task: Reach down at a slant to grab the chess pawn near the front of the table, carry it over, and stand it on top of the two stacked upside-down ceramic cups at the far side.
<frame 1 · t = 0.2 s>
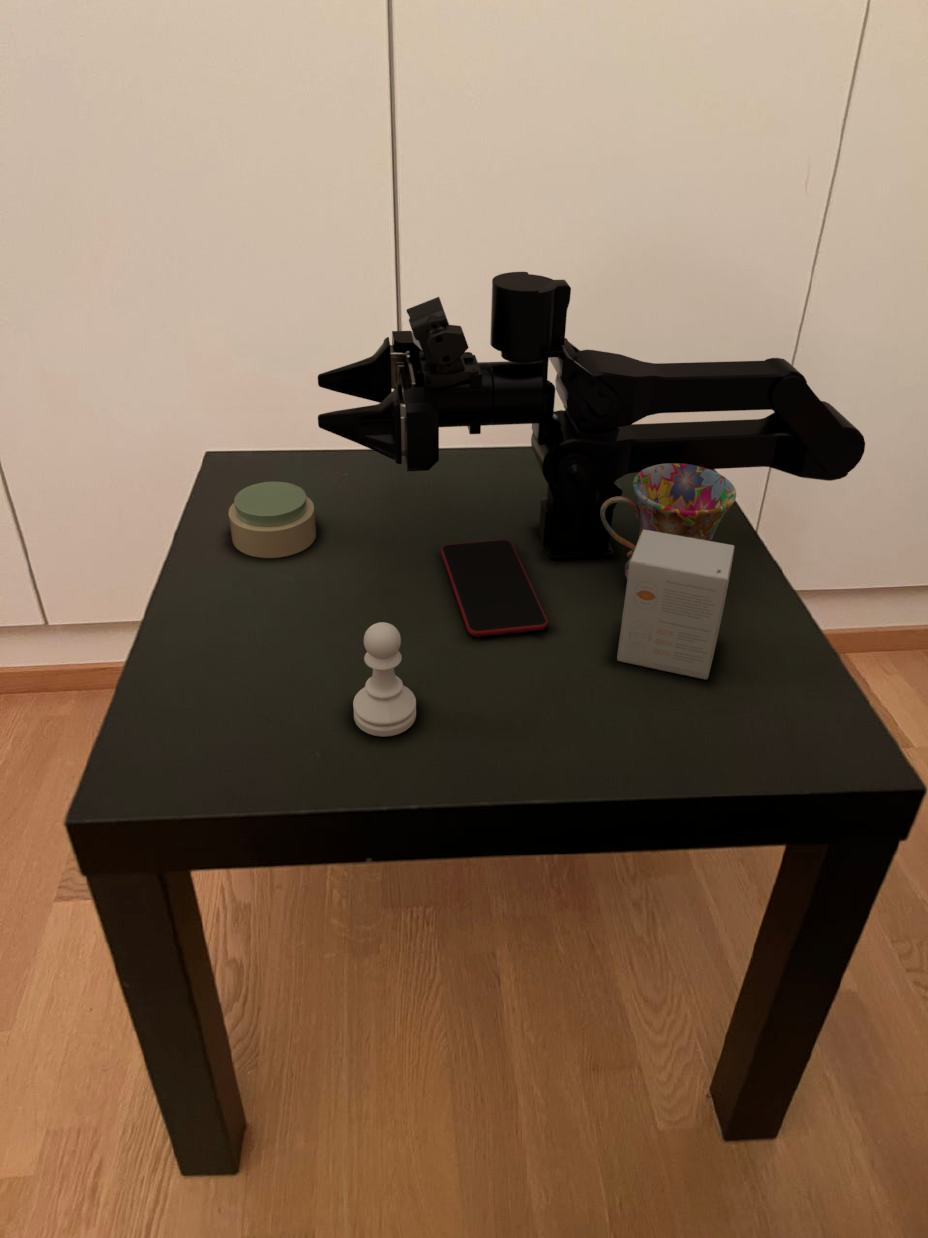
hand: (318, 399, 86), 17 cm above the table, tool horizontal, fingers open, 9 cm apart
mug: (652, 583, 93), on the table, touching arm
chess pawn: (385, 718, 76), on the table
small box: (665, 655, 84), on the table
cup stack: (274, 536, 98), on the table
smartphone: (491, 591, 91), on the table
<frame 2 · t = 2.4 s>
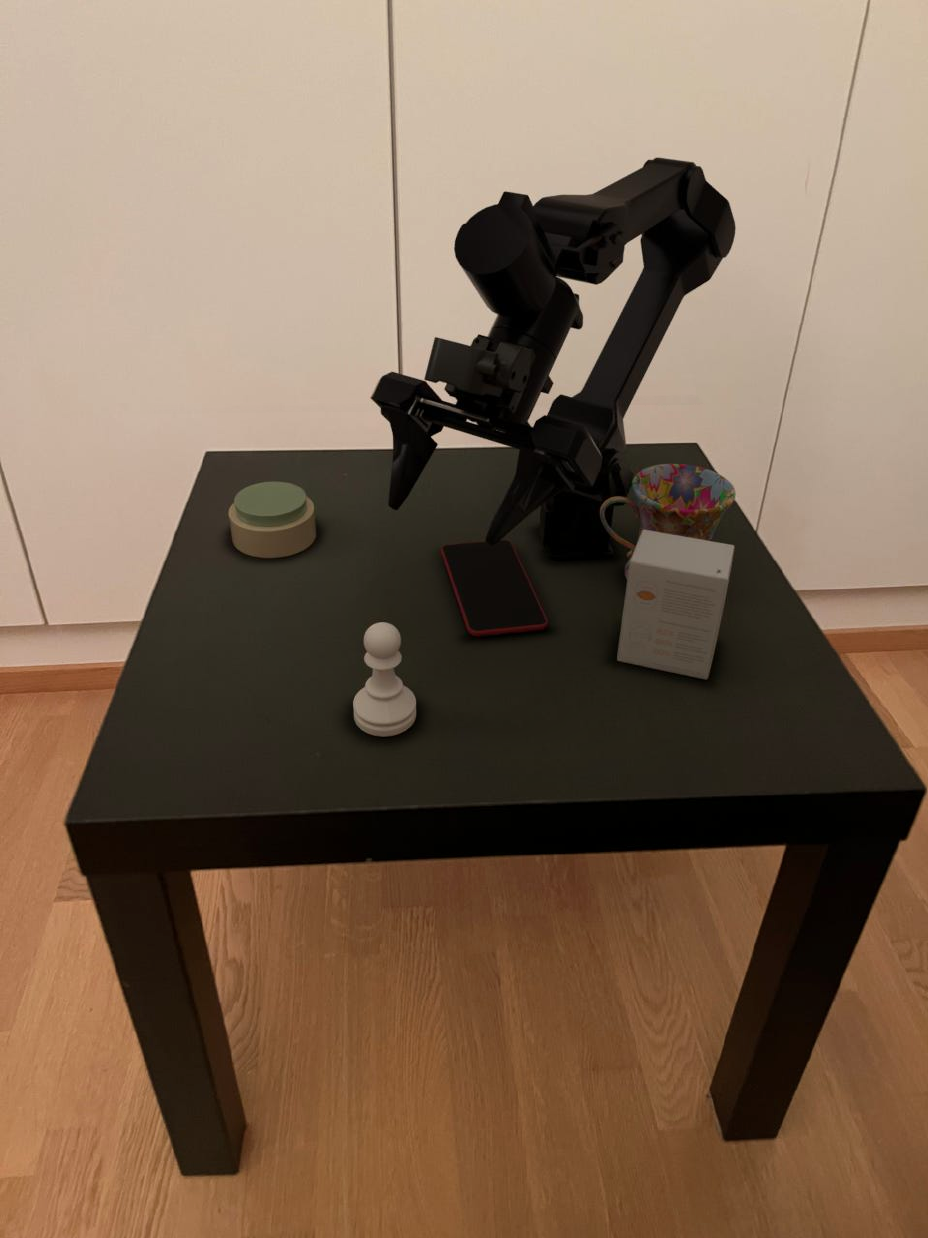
hand: (439, 525, 74), 14 cm above the table, tool tilted 45°, fingers open, 9 cm apart
mug: (652, 584, 93), on the table
everything else where it was.
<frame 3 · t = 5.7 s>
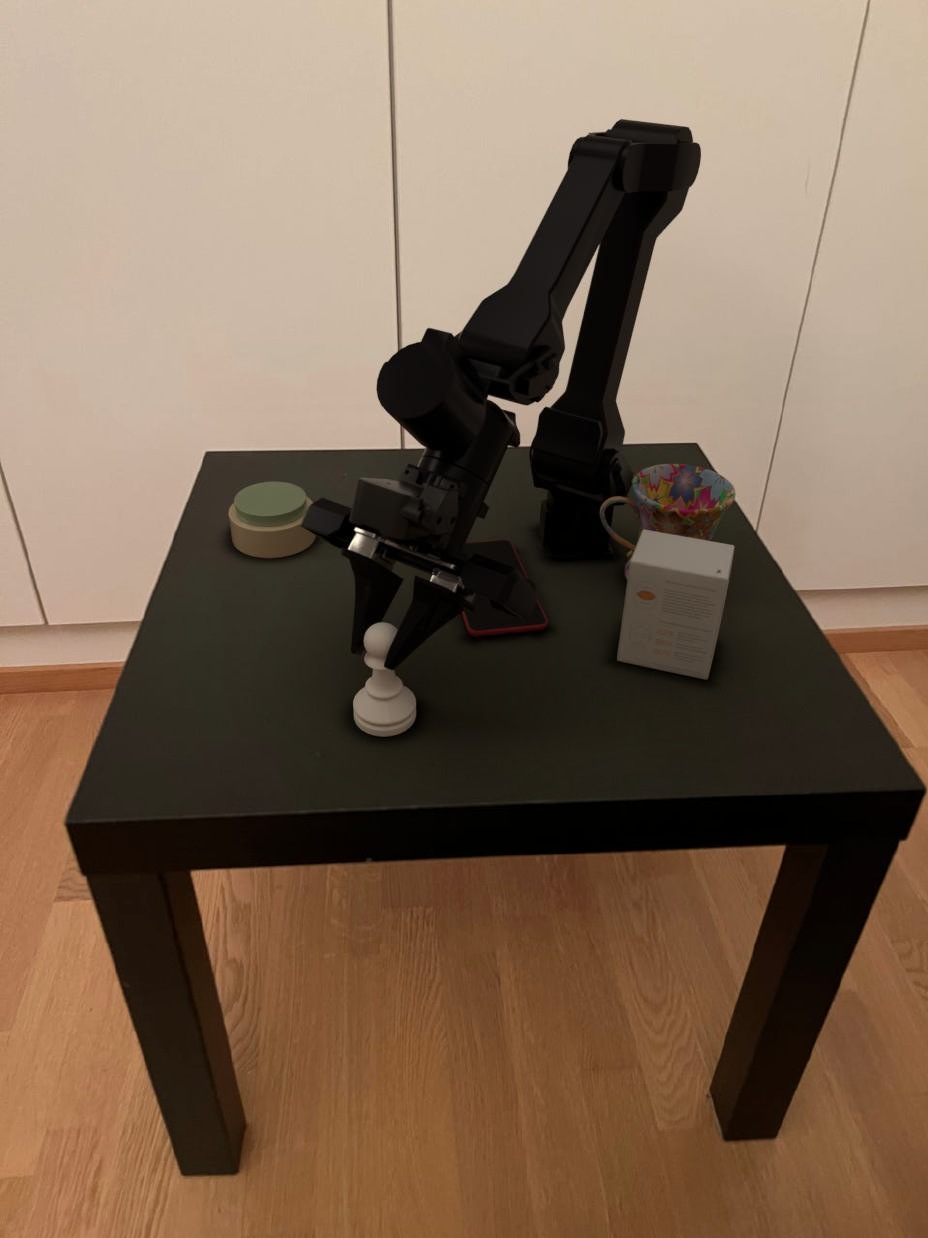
hand: (371, 661, 71), 7 cm above the table, tool tilted 45°, fingers closed on chess pawn, 3 cm apart
chess pawn: (385, 718, 76), on the table, touching gripper
everything else where it was.
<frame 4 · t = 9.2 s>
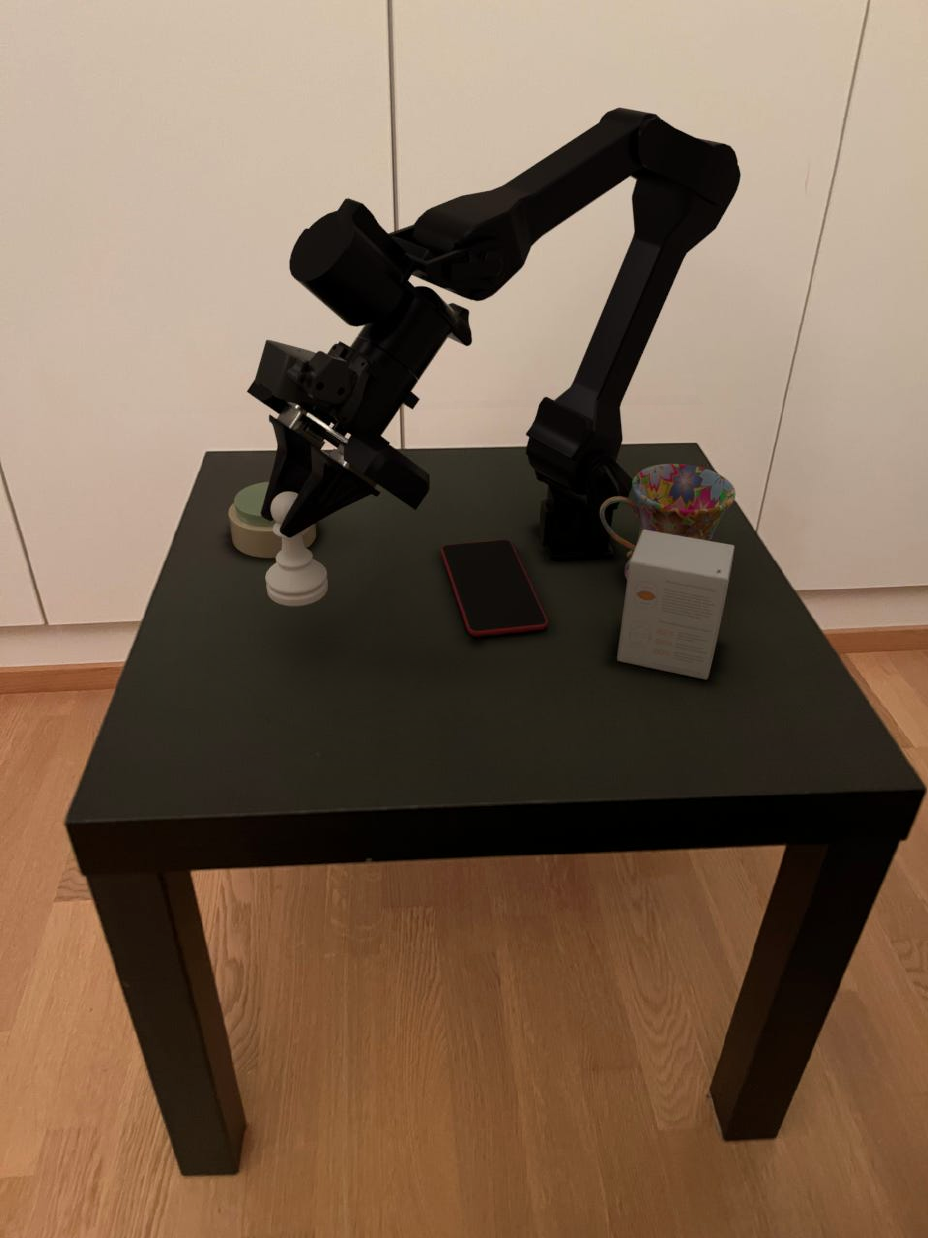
hand: (274, 526, 74), 13 cm above the table, tool tilted 45°, fingers closed on chess pawn, 3 cm apart
chess pawn: (298, 592, 79), point 7 cm above the table, touching gripper
everything else where it was.
when the fingers open (11 cm above the table, at t = 12.6 s): chess pawn stays where it is, resting on cup stack.
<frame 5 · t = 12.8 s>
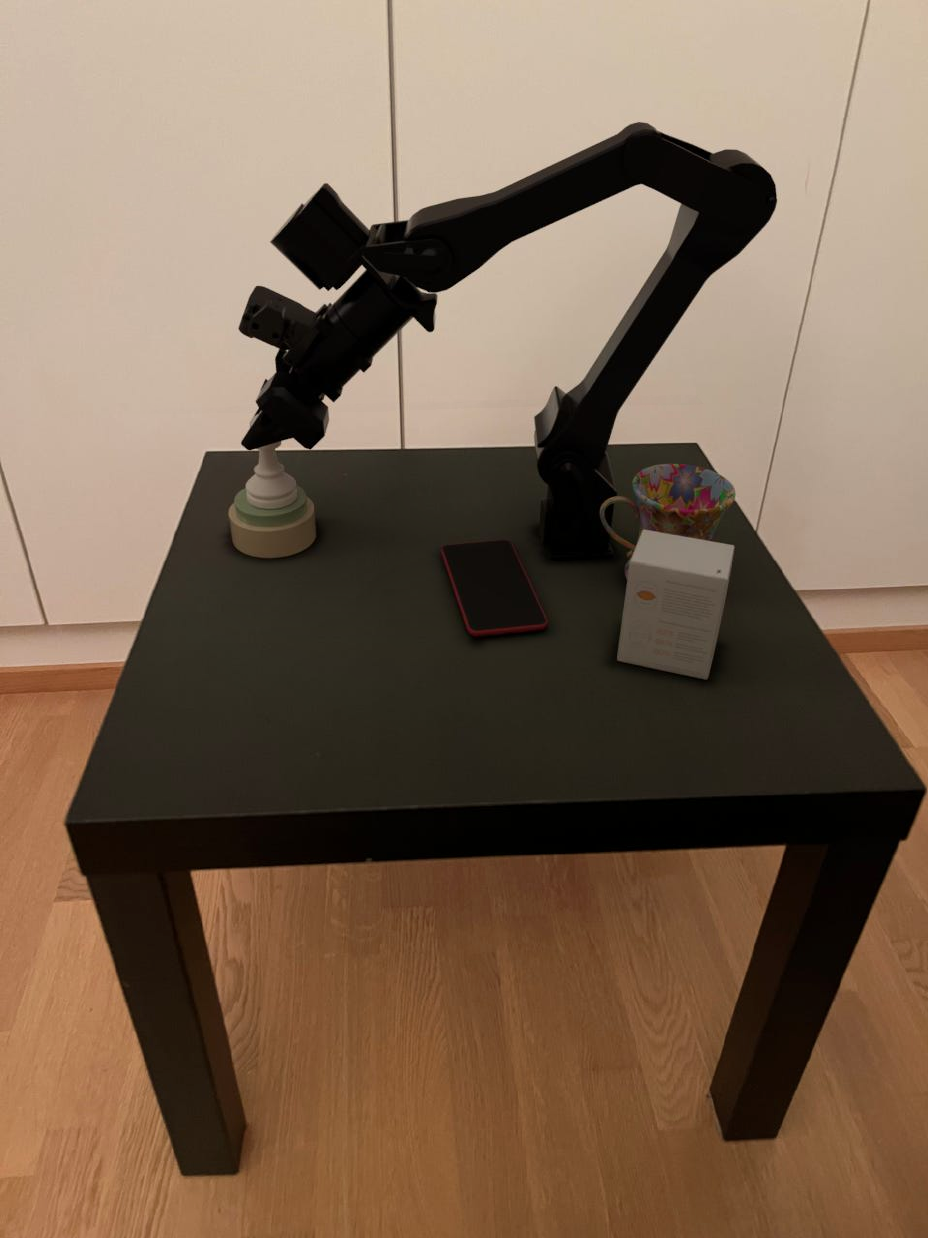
hand: (249, 436, 92), 11 cm above the table, tool tilted 45°, fingers open, 4 cm apart
chess pawn: (272, 499, 96), point 4 cm above the table, touching cup stack
everything else where it was.
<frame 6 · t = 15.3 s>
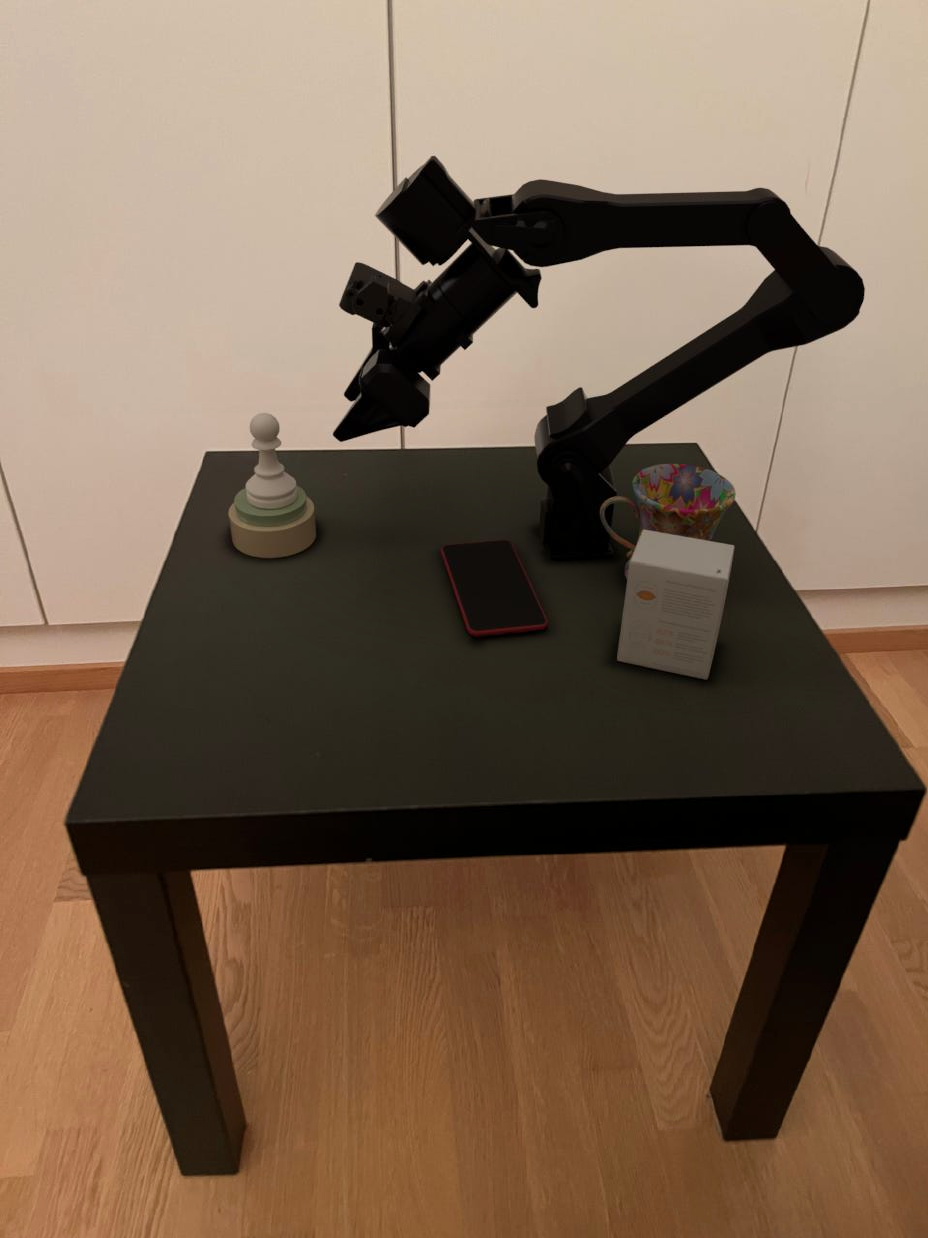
hand: (341, 417, 90), 13 cm above the table, tool tilted 45°, fingers open, 9 cm apart
nothing on the table moved.
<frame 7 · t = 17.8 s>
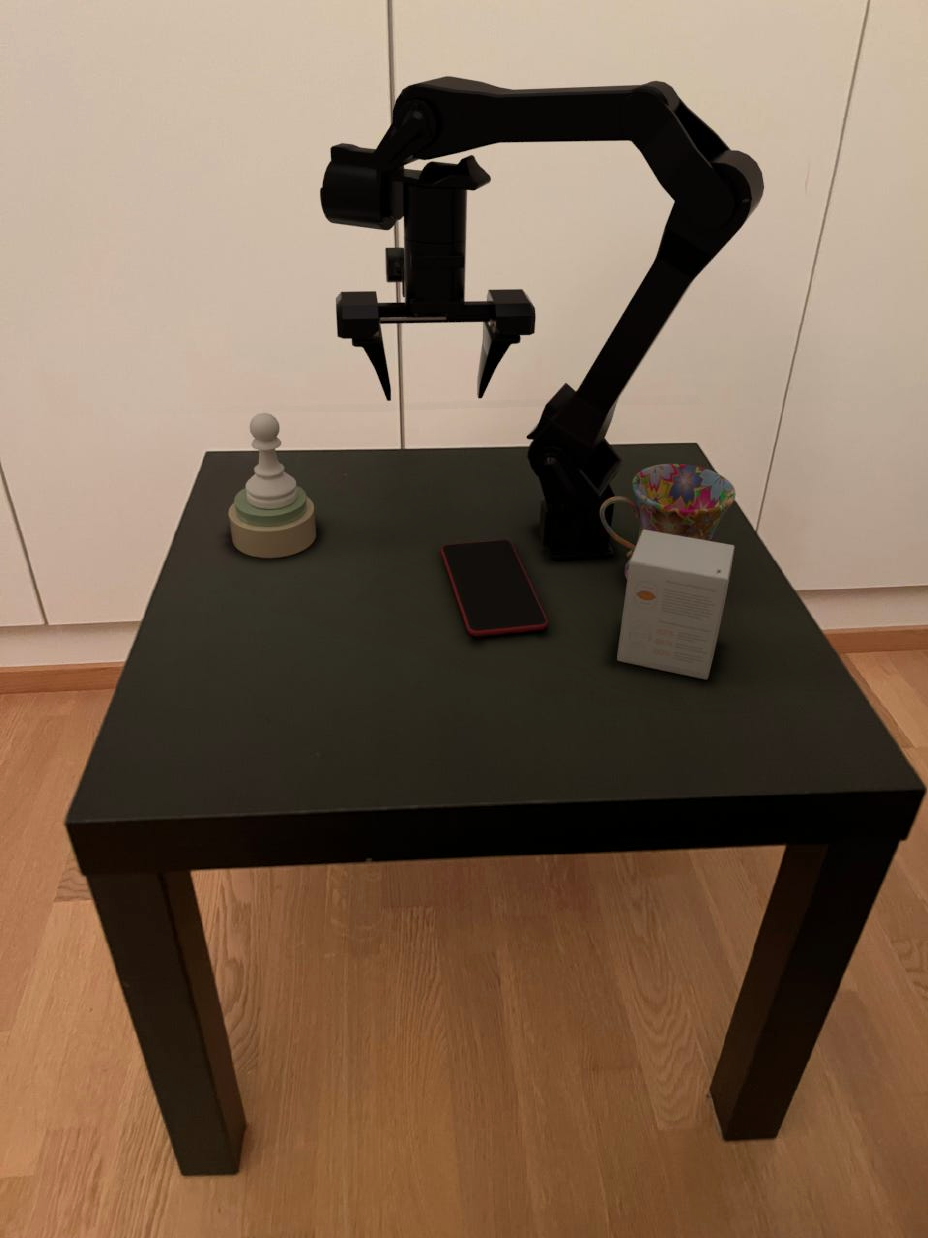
hand: (434, 398, 96), 13 cm above the table, tool pointing down, fingers open, 9 cm apart
nothing on the table moved.
at the end: chess pawn 0.2 cm off-centre on the cup stack, point 4.3 cm above the cup stack's base; chess pawn tilted 0° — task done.
